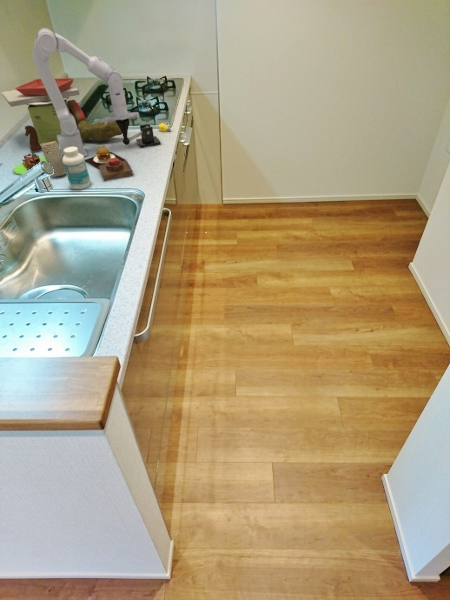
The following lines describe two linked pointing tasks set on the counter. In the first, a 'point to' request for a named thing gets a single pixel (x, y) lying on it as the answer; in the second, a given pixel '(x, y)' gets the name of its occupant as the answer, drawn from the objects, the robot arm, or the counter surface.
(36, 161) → the brown lump green base
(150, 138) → the bracket
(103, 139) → the stone tool
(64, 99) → the plate
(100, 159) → the hamburger
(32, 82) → the plant saucer
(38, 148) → the chess piece
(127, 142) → the lever
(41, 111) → the protein box
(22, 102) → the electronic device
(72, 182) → the pill bottle
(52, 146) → the carving
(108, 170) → the button block
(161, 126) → the light bulb
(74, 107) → the decorative object
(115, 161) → the button
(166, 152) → the counter surface
